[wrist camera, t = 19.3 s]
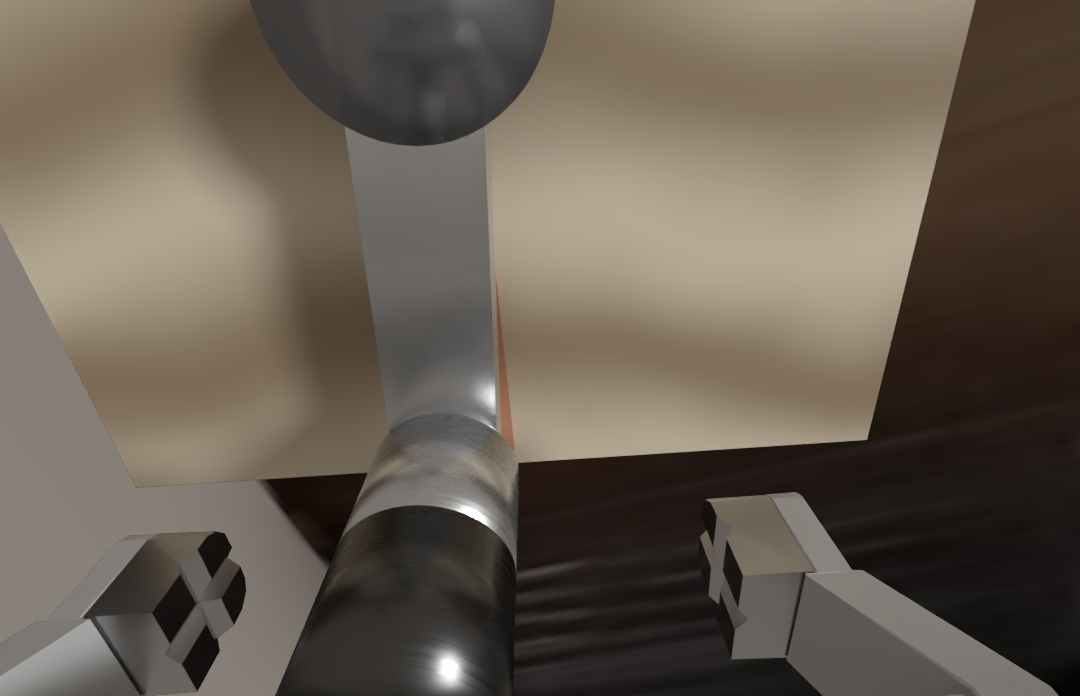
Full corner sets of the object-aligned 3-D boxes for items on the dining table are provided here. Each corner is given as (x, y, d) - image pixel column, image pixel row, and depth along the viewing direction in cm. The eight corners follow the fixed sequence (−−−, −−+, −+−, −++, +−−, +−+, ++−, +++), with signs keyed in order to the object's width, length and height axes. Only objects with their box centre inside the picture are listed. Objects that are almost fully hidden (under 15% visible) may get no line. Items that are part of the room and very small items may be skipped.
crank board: (838, 409, 16) (869, 442, 14) (168, 454, 16) (133, 490, 15) (1083, -749, 7) (1218, -952, 6) (-325, -614, 8) (-524, -776, 6)
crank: (303, -136, 9) (-648, -1060, 2) (549, -132, 9) (629, -1010, 2) (389, 441, 14) (242, 813, 7) (545, 439, 14) (561, 807, 7)
